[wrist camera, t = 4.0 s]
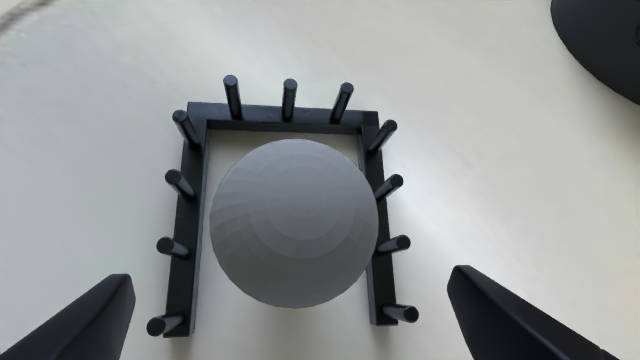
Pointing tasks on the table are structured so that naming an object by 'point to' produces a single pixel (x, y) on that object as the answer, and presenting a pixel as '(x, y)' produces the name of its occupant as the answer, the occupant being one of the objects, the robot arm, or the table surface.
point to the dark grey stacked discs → (603, 40)
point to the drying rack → (272, 119)
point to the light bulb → (294, 223)
